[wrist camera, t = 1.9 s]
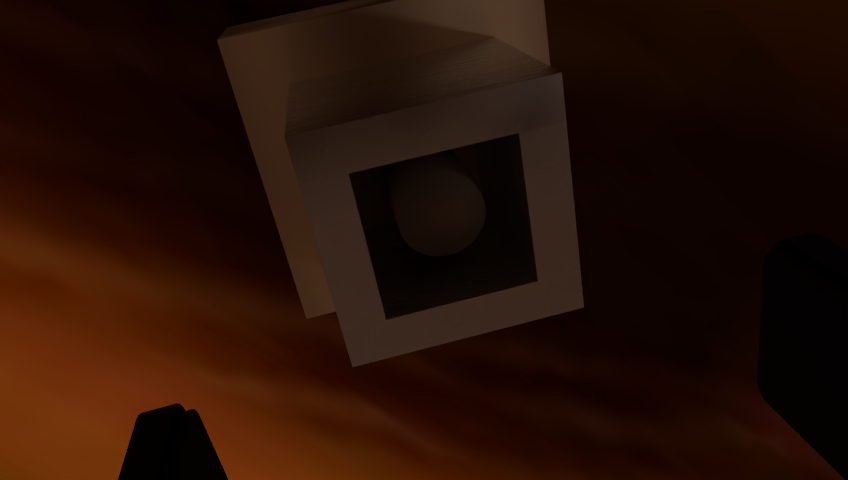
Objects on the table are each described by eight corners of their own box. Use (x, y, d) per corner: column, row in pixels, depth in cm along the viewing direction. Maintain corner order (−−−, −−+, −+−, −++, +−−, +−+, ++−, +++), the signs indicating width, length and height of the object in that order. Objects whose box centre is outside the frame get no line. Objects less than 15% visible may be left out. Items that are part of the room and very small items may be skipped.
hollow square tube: (494, 36, 21) (561, 72, 15) (520, 222, 24) (583, 307, 18) (289, 83, 20) (284, 136, 15) (341, 267, 23) (352, 367, 18)
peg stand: (512, -36, 23) (608, -23, 16) (543, 221, 27) (628, 323, 20) (227, 27, 22) (191, 71, 15) (306, 280, 27) (307, 407, 19)
